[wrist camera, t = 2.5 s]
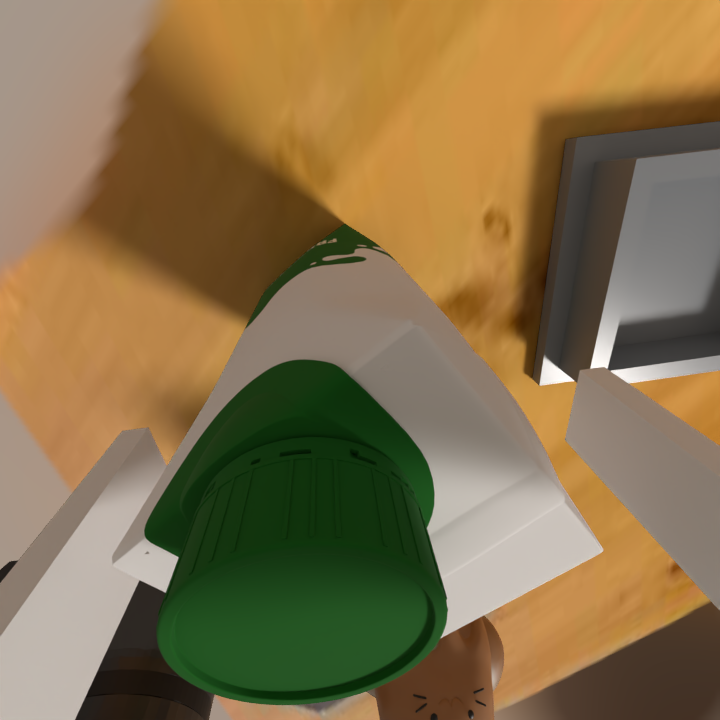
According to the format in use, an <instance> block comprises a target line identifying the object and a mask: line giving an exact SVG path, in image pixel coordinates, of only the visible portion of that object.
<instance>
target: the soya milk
mask: <svg viewBox="0 0 720 720" xmlns="http://www.w3.org/2000/svg"><path fill="white" fill-rule="evenodd" d="M601 552H603V548H602V546H601V545H600V543H599V542H598V540H597V538H596V537H595V535H594V534H593V532H592V531H591V529H590V527H589V526H588V524H587V523H586V521H585V520H584V518H583V517H582V515H581V514H580V512H579V511H578V509H577V507H576V506H575V504H574V503H573V501H572V500H571V498H570V497H569V495H568V494H567V492H566V491H565V489H564V488H563V486H562V485H561V483H560V481H559V479H558V477H557V475H556V472H555V470H554V468H553V466H552V464H551V461H550V459H549V457H548V455H547V453H546V451H545V449H544V447H543V445H542V443H541V442H540V440H539V438H538V436H537V434H536V432H535V431H534V429H533V427H532V426H531V424H530V422H529V421H528V419H527V417H526V415H525V414H524V412H523V411H522V409H521V408H520V406H519V405H518V403H517V402H516V400H515V399H514V398H513V396H512V395H511V394H510V392H509V391H508V390H507V388H506V387H505V386H504V384H503V383H502V382H501V381H500V379H499V378H498V377H497V376H496V374H495V373H494V372H493V371H492V369H491V368H490V367H489V366H488V365H487V363H486V362H485V361H484V360H483V359H482V358H481V357H480V356H478V355H477V354H476V353H475V352H474V350H473V349H472V348H471V347H470V345H469V344H468V343H467V341H466V340H465V339H464V337H463V336H462V335H461V334H460V332H459V331H458V330H457V329H456V327H455V326H454V325H453V324H452V322H451V321H450V320H449V319H448V318H447V316H446V315H445V314H444V313H443V312H442V311H441V310H440V309H439V308H438V306H437V305H436V304H435V303H434V302H433V301H432V300H431V299H430V298H429V296H428V295H427V294H426V293H425V292H424V291H423V290H422V289H421V288H420V287H419V286H418V284H417V283H416V282H415V281H414V280H413V279H412V278H411V277H410V276H409V275H408V274H407V273H406V271H405V270H404V269H403V268H402V267H401V266H400V265H399V264H398V263H397V262H396V261H395V260H394V259H393V257H391V256H390V255H389V254H388V253H387V252H386V251H385V250H383V249H382V248H381V247H380V246H378V245H377V244H376V243H374V242H373V241H371V240H370V239H368V238H367V237H365V236H364V235H362V234H360V233H359V232H357V231H356V230H354V229H352V228H351V227H349V226H348V225H346V224H344V225H342V226H341V227H340V228H338V229H337V230H335V231H334V232H333V233H331V234H330V235H328V236H327V237H326V238H324V239H323V240H321V241H320V242H319V243H317V244H316V245H314V246H313V247H312V248H310V249H309V250H308V251H307V252H306V253H304V254H303V255H302V256H301V257H300V258H299V259H298V260H297V261H295V262H294V263H293V264H292V265H291V266H290V267H289V268H288V269H287V270H286V271H285V272H283V273H282V274H281V275H280V276H279V277H278V278H277V279H276V280H275V281H274V282H273V283H272V284H271V285H270V286H269V287H268V288H267V289H266V290H265V292H264V294H263V295H262V297H261V299H260V301H259V303H258V305H257V307H256V308H255V310H254V312H253V314H252V316H251V318H250V320H249V322H248V324H247V326H246V328H245V330H244V332H243V334H242V336H241V337H240V339H239V341H238V343H237V345H236V347H235V349H234V351H233V353H232V355H231V357H230V359H229V361H228V363H227V365H226V366H225V368H224V370H223V372H222V374H221V376H220V378H219V380H218V382H217V384H216V385H215V387H214V389H213V391H212V393H211V394H210V396H209V398H208V399H207V401H206V403H205V404H204V406H203V408H202V409H201V411H200V413H199V414H198V416H197V418H196V419H195V421H194V423H193V424H192V426H191V428H190V429H189V431H188V433H187V434H186V436H185V437H184V439H183V441H182V442H181V444H180V446H179V447H178V449H177V451H176V452H175V454H174V456H173V457H172V459H171V461H170V462H169V464H168V465H167V467H166V469H165V470H164V472H163V474H162V475H161V477H160V479H159V480H158V482H157V484H156V485H155V487H154V488H153V490H152V492H151V493H150V495H149V497H148V498H147V500H146V502H145V503H144V505H143V506H142V508H141V510H140V511H139V513H138V515H137V516H136V518H135V520H134V521H133V523H132V525H131V526H130V528H129V529H128V531H127V533H126V534H125V536H124V537H123V539H122V541H121V542H120V544H119V545H118V547H117V549H116V550H115V552H114V553H113V556H112V565H113V567H115V568H117V569H119V570H121V571H123V572H125V573H127V574H129V575H130V576H132V577H134V578H136V579H138V580H140V581H143V582H145V583H147V584H149V585H151V586H153V587H155V588H157V589H159V590H161V591H163V592H165V596H164V599H163V601H162V604H161V607H160V610H159V612H158V616H159V618H158V622H157V626H156V636H157V643H158V647H159V650H160V652H161V654H162V656H163V658H164V660H165V661H166V662H167V664H168V665H169V666H170V667H171V668H172V669H173V671H175V672H176V673H177V674H178V675H179V676H180V677H182V678H183V679H184V680H186V681H188V682H189V683H191V684H193V685H194V686H196V687H198V688H200V689H203V690H205V691H207V692H210V693H212V694H215V695H218V696H222V697H225V698H229V699H233V700H238V701H243V702H249V703H257V704H268V705H299V704H311V703H319V702H326V701H332V700H337V699H341V698H346V697H350V696H353V695H357V694H360V693H363V692H366V691H369V690H372V689H374V688H377V687H379V686H382V685H384V684H386V683H388V682H390V681H392V680H394V679H396V678H398V677H400V676H401V675H403V674H405V673H406V672H408V671H409V670H411V669H412V668H414V667H415V666H416V665H417V664H419V663H420V662H421V661H422V660H423V659H424V658H426V657H427V655H428V654H429V653H430V652H431V651H432V650H433V649H434V647H435V646H436V645H437V643H438V642H439V640H440V638H442V637H444V636H446V635H448V634H450V633H451V632H453V631H455V630H457V629H459V628H461V627H463V626H465V625H467V624H468V623H470V622H472V621H474V620H476V619H478V618H480V617H482V616H483V615H485V614H487V613H489V612H491V611H493V610H495V609H497V608H499V607H500V606H502V605H504V604H506V603H508V602H510V601H512V600H514V599H516V598H517V597H519V596H521V595H523V594H525V593H527V592H529V591H531V590H532V589H534V588H536V587H538V586H540V585H542V584H544V583H546V582H548V581H549V580H551V579H553V578H555V577H557V576H559V575H561V574H563V573H564V572H566V571H568V570H570V569H572V568H574V567H576V566H578V565H580V564H581V563H583V562H585V561H587V560H589V559H591V558H593V557H594V556H596V555H598V554H600V553H601Z"/></svg>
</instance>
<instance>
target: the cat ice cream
mask: <svg viewBox="0 0 720 720" xmlns="http://www.w3.org/2000/svg"><path fill="white" fill-rule="evenodd" d="M503 666H504V650H503V645H502V641H501V639H500V637H499V634H498V633H497V631H496V629H495V628H494V626H493V625H492V623H491V622H490V621H489V620H488V619H487V618H486V617H485V616H484V615H483V616H482V617H480V618H478V619H476V620H474V621H472V622H470V623H468V624H467V625H465V626H463V627H461V628H459V629H457V630H455V631H453V632H451V633H450V634H448V635H446V636H444V637H442V638H440V640H439V642H438V643H437V645H436V646H435V647H434V649H433V650H432V651H431V652H430V653H429V654H428V655H427V657H426V658H424V659H423V660H422V661H421V662H420V663H419V664H417V665H416V666H415V667H414V668H412V669H411V670H409V671H408V672H406V673H405V674H403V675H401V676H400V677H398V678H396V679H394V680H392V681H390V682H388V683H386V684H384V685H382V686H379V687H377V688H374V689H372V690H369V691H366V692H368V693H369V694H370V695H372V696H374V697H375V698H376V700H377V706H378V711H379V716H380V720H494V703H493V691H494V690H495V688H496V687H497V685H498V683H499V681H500V678H501V675H502V672H503Z"/></svg>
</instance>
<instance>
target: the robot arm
mask: <svg viewBox="0 0 720 720" xmlns="http://www.w3.org/2000/svg"><path fill="white" fill-rule="evenodd" d="M565 440H566V442H567V443H568V444H569V445H570V446H571V447H572V448H573V449H574V450H575V452H576V453H577V454H578V455H579V456H580V457H581V458H582V459H583V460H584V461H585V463H586V464H587V465H588V466H589V467H590V468H591V469H592V470H593V471H594V472H595V474H596V475H597V476H598V477H599V478H600V479H601V480H602V481H603V482H604V483H605V485H606V486H607V487H608V488H609V489H610V490H611V491H612V492H613V493H614V495H615V496H616V497H617V498H618V499H619V500H620V501H621V502H622V503H623V504H624V506H625V507H626V508H627V509H628V510H629V511H630V512H631V513H632V514H633V515H634V517H635V518H636V519H637V520H638V521H639V522H640V523H641V524H642V525H643V527H644V528H645V529H646V530H647V531H648V532H649V533H650V534H651V535H652V536H653V538H654V539H655V540H656V541H657V542H658V543H659V544H660V545H661V546H662V547H663V549H664V550H665V551H666V552H667V553H668V554H669V555H670V556H671V557H672V558H673V560H674V561H675V562H676V563H677V564H678V565H679V566H680V567H681V568H682V570H683V571H684V572H685V573H686V574H687V575H688V576H689V577H690V578H691V579H692V581H693V582H694V583H695V584H696V585H697V586H698V587H699V588H700V589H701V590H702V592H703V593H704V594H705V595H706V596H707V597H708V598H709V599H710V600H711V601H712V603H713V604H714V605H715V606H716V607H717V608H718V609H719V610H720V446H719V445H717V444H716V443H715V442H713V441H712V440H710V439H709V438H707V437H706V436H704V435H703V434H701V433H700V432H699V431H697V430H696V429H694V428H693V427H691V426H690V425H688V424H687V423H685V422H684V421H682V420H681V419H680V418H678V417H677V416H675V415H674V414H672V413H671V412H669V411H668V410H666V409H665V408H663V407H662V406H661V405H659V404H658V403H656V402H655V401H653V400H652V399H650V398H649V397H647V396H646V395H644V394H643V393H642V392H640V391H639V390H637V389H636V388H634V387H633V386H631V385H630V384H628V383H627V382H626V381H624V380H623V379H621V378H620V377H618V376H617V375H615V374H614V373H612V372H611V371H609V370H608V369H607V368H605V367H600V368H592V369H585V370H580V372H579V377H578V381H577V386H576V391H575V395H574V400H573V405H572V409H571V414H570V419H569V424H568V428H567V433H566V438H565ZM166 467H167V466H166V464H165V461H164V459H163V457H162V455H161V453H160V451H159V449H158V447H157V445H156V443H155V440H154V438H153V436H152V434H151V432H150V430H149V428H141V429H133V430H126V431H122V432H121V433H120V434H119V436H118V437H117V438H116V439H115V441H114V442H113V443H112V444H111V446H110V447H109V448H108V449H107V451H106V452H105V453H104V454H103V456H102V457H101V458H100V459H99V461H98V462H97V463H96V464H95V466H94V467H93V468H92V469H91V471H90V472H89V473H88V474H87V476H86V477H85V478H84V479H83V481H82V482H81V483H80V484H79V486H78V487H77V488H76V489H75V491H74V492H73V493H72V494H71V496H70V497H69V498H68V499H67V501H66V502H65V503H64V504H63V506H62V507H61V508H60V509H59V511H58V512H57V513H56V514H55V516H54V517H53V518H52V519H51V521H50V522H49V523H48V525H47V526H46V527H45V528H44V530H43V531H42V532H41V533H40V534H39V536H38V537H37V538H36V539H35V541H34V542H33V543H32V544H31V546H30V547H29V548H28V549H27V550H26V552H25V553H24V554H23V555H22V557H21V558H20V559H19V560H18V561H11V562H9V563H8V564H7V565H5V566H4V567H3V568H2V569H1V570H0V720H209V716H210V711H211V707H212V703H213V698H214V695H215V694H212V693H210V692H207V691H205V690H203V689H200V688H198V687H196V686H194V685H193V684H191V683H189V682H188V681H186V680H184V679H183V678H182V677H180V676H179V675H178V674H177V673H176V672H175V671H173V669H172V668H171V667H170V666H169V665H168V664H167V662H166V661H165V660H164V658H163V656H162V654H161V652H160V650H159V647H158V643H157V636H156V626H157V622H158V618H159V616H158V612H159V610H160V607H161V604H162V601H163V599H164V596H165V592H163V591H161V590H159V589H157V588H155V587H153V586H151V585H149V584H147V583H145V582H143V581H140V580H138V579H136V578H134V577H132V576H130V575H129V574H127V573H125V572H123V571H121V570H119V569H117V568H115V567H113V565H112V556H113V553H114V552H115V550H116V549H117V547H118V545H119V544H120V542H121V541H122V539H123V537H124V536H125V534H126V533H127V531H128V529H129V528H130V526H131V525H132V523H133V521H134V520H135V518H136V516H137V515H138V513H139V511H140V510H141V508H142V506H143V505H144V503H145V502H146V500H147V498H148V497H149V495H150V493H151V492H152V490H153V488H154V487H155V485H156V484H157V482H158V480H159V479H160V477H161V475H162V474H163V472H164V470H165V469H166Z"/></svg>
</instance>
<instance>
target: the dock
mask: <svg viewBox="0 0 720 720" xmlns="http://www.w3.org/2000/svg"><path fill="white" fill-rule="evenodd" d="M600 367H605V368H607V369H608V370H609V371H611V372H612V373H614V374H615V375H617V376H618V377H620V378H621V379H623V380H624V381H626V382H627V383H634V382H641V381H648V380H656V379H663V378H670V377H677V376H684V375H691V374H698V373H705V372H712V371H719V370H720V121H717V122H709V123H700V124H691V125H682V126H673V127H665V128H656V129H647V130H638V131H629V132H621V133H612V134H603V135H594V136H585V137H577V138H571V139H566V142H565V149H564V156H563V164H562V171H561V178H560V185H559V192H558V199H557V207H556V214H555V221H554V228H553V235H552V243H551V250H550V257H549V264H548V271H547V278H546V286H545V293H544V300H543V307H542V314H541V322H540V329H539V336H538V343H537V350H536V358H535V365H534V372H533V380H534V381H535V382H536V383H537V384H538V385H539V386H541V385H548V384H555V383H562V382H569V381H576V382H577V381H578V377H579V372H580V370H585V369H592V368H600Z"/></svg>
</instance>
